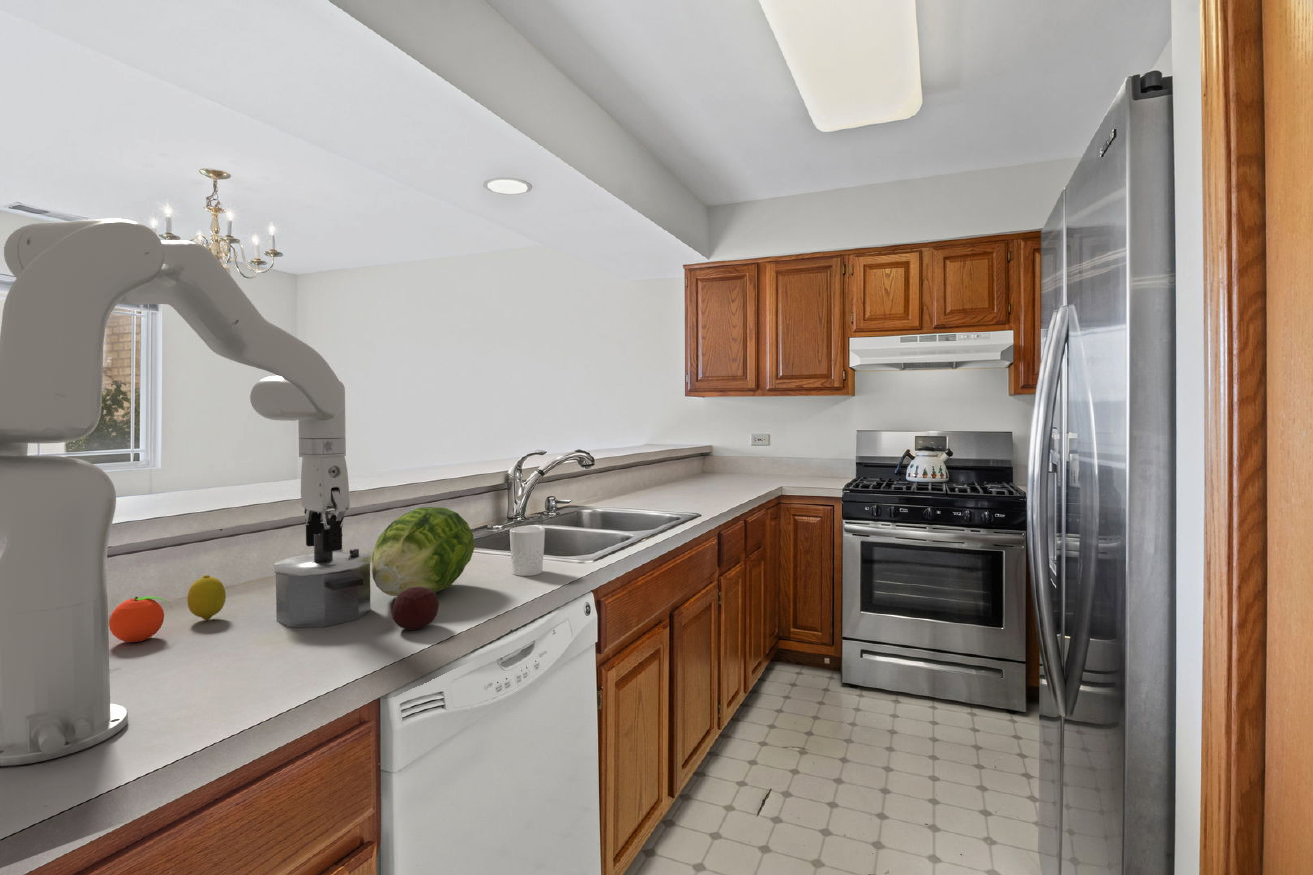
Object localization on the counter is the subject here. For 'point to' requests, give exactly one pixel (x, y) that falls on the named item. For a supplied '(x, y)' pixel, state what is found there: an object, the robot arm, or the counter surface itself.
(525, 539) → the white cup
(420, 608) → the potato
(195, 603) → the lemon
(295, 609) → the pot
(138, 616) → the clementine
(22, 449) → the robot arm
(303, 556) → the lid
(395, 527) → the lettuce
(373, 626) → the counter surface
